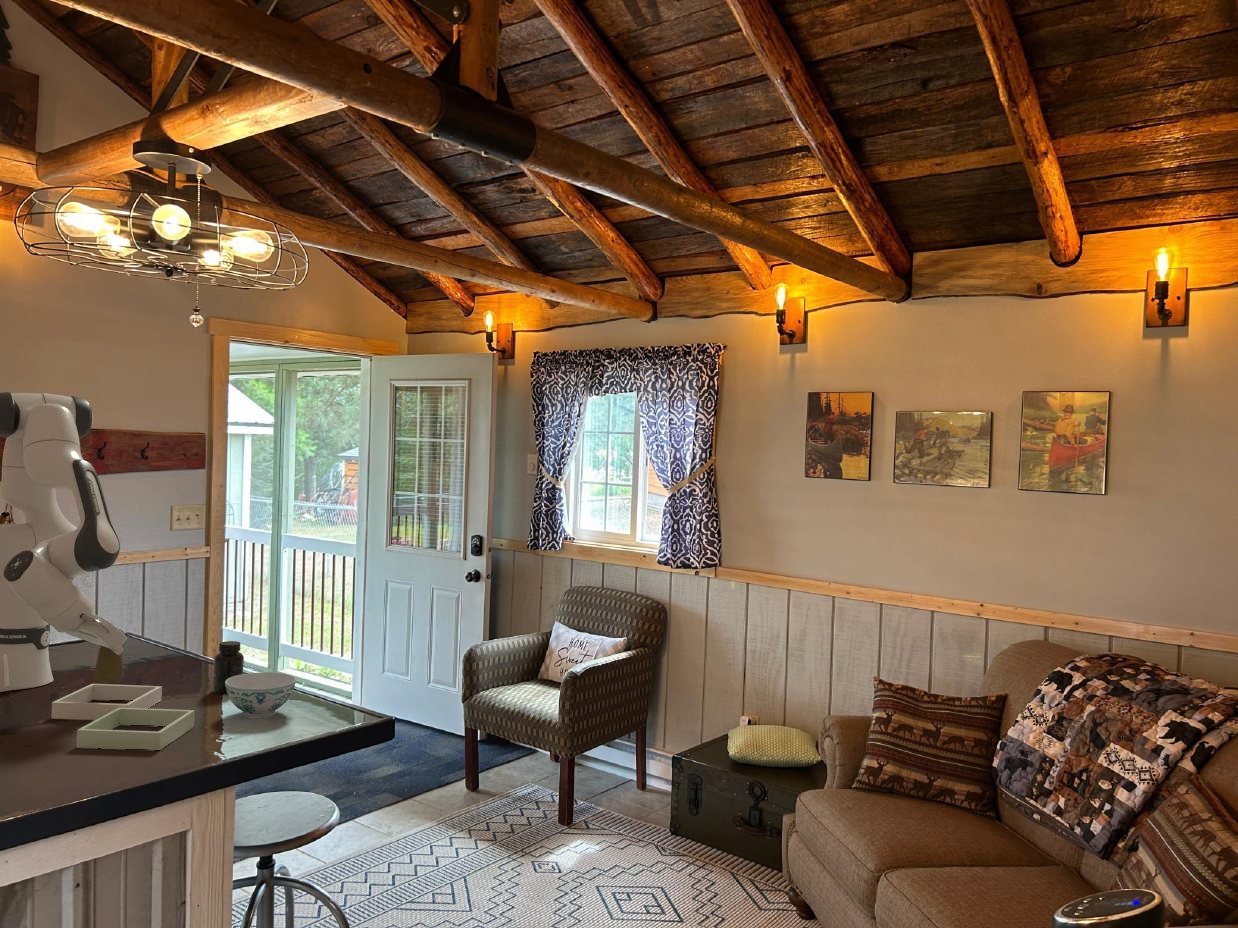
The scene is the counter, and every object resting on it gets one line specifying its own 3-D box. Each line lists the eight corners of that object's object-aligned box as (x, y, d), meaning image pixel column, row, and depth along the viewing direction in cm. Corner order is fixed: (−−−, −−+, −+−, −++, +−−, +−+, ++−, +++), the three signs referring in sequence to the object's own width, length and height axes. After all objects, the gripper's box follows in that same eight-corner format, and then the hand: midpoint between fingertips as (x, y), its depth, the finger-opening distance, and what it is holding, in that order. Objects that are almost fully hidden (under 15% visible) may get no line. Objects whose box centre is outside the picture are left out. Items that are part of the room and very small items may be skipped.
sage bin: (76, 747, 177) (77, 729, 177) (117, 723, 193) (118, 707, 193) (159, 750, 178) (160, 732, 178) (194, 726, 194) (194, 710, 194)
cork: (110, 682, 200) (113, 633, 199) (86, 679, 201) (89, 629, 201) (130, 676, 206) (133, 628, 205) (107, 672, 207) (110, 625, 207)
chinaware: (272, 701, 216) (274, 669, 216) (307, 714, 206) (309, 681, 206) (210, 712, 204) (212, 678, 204) (244, 727, 195) (246, 692, 195)
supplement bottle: (205, 692, 221) (208, 643, 221) (227, 686, 227) (229, 638, 227) (227, 696, 218) (229, 646, 218) (248, 690, 225) (250, 641, 224)
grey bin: (51, 718, 194) (52, 702, 194) (91, 698, 210) (92, 683, 210) (127, 721, 195) (128, 704, 195) (161, 701, 211) (162, 686, 211)
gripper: (107, 607, 191) (149, 646, 200) (58, 593, 202) (100, 630, 211) (84, 631, 188) (128, 670, 196) (35, 615, 199) (79, 652, 207)
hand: (113, 649), depth 204 cm, fingers closed on cork, 4 cm apart
